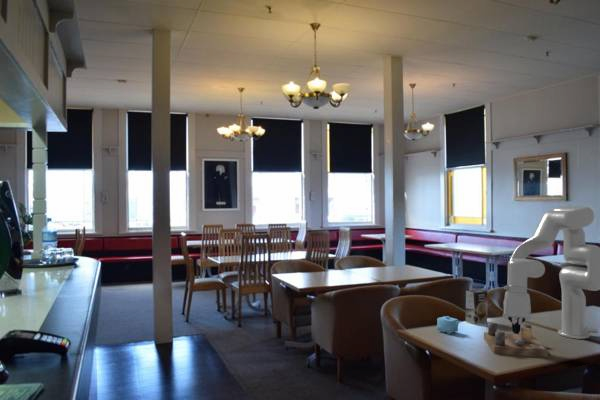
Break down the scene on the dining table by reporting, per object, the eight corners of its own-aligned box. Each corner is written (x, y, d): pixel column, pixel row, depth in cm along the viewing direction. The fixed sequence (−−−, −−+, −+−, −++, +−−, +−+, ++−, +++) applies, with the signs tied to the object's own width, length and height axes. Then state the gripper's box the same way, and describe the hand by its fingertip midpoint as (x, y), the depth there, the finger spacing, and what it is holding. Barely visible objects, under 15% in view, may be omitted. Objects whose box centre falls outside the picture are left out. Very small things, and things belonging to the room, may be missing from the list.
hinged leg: (521, 345, 182) (521, 333, 182) (512, 343, 184) (512, 331, 184) (532, 341, 188) (532, 329, 188) (523, 339, 191) (523, 327, 191)
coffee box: (475, 324, 225) (475, 292, 225) (465, 321, 231) (465, 290, 231) (487, 322, 230) (488, 291, 230) (477, 319, 235) (477, 288, 235)
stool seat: (532, 341, 198) (532, 323, 198) (547, 357, 179) (547, 337, 179) (483, 338, 202) (484, 321, 202) (493, 353, 183) (494, 334, 183)
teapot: (464, 334, 209) (464, 318, 209) (457, 337, 205) (457, 320, 205) (441, 328, 218) (441, 313, 219) (434, 331, 215) (434, 315, 215)
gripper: (500, 289, 188) (498, 334, 188) (539, 292, 185) (537, 337, 185) (496, 286, 195) (495, 329, 195) (533, 289, 192) (532, 332, 192)
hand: (515, 333), depth 190 cm, fingers closed
